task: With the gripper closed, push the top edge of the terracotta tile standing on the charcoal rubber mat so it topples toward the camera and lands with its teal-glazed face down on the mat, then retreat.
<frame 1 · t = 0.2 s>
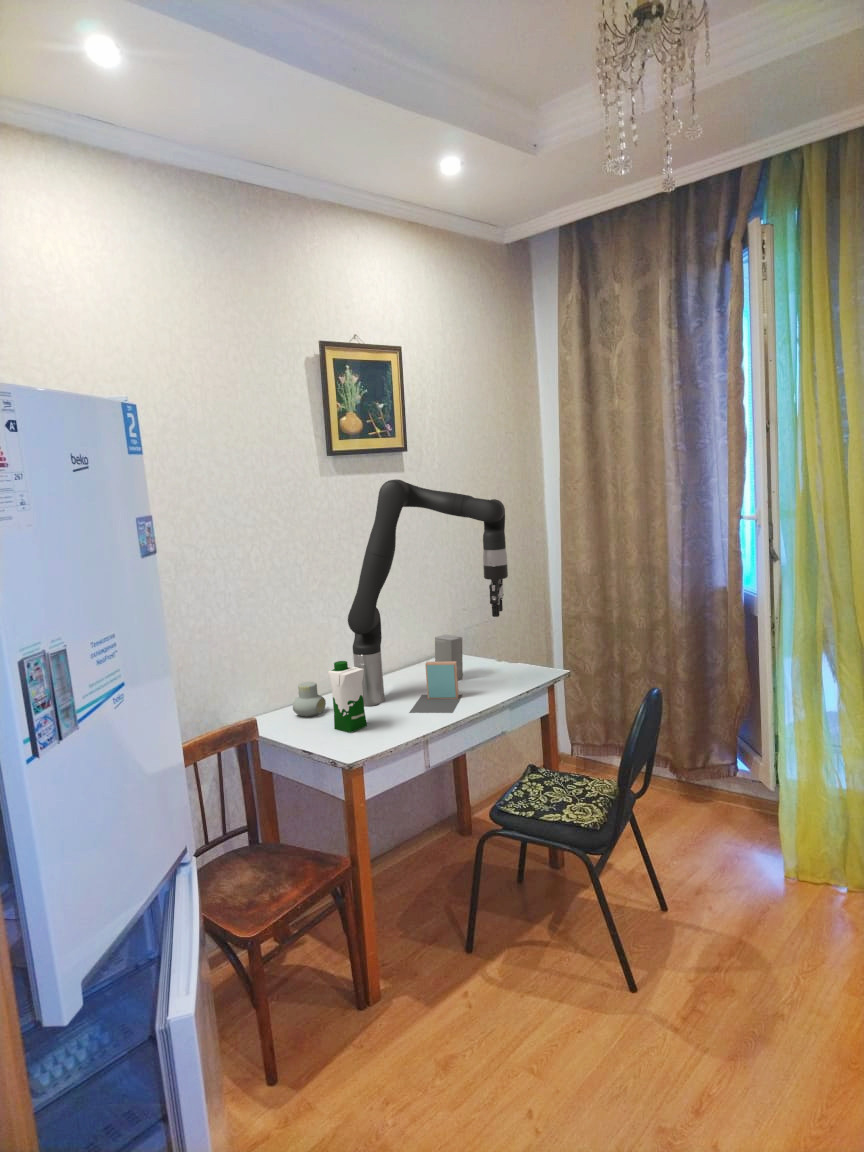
hand: (497, 613, 241), 29 cm above the table, fingers open, 8 cm apart
grey rounded piece: (310, 714, 245), on the table
rubber mat: (436, 704, 246), on the table
glazed tile: (443, 697, 252), resting on rubber mat
skincare box: (450, 679, 275), on the table
milk carton: (350, 728, 229), on the table
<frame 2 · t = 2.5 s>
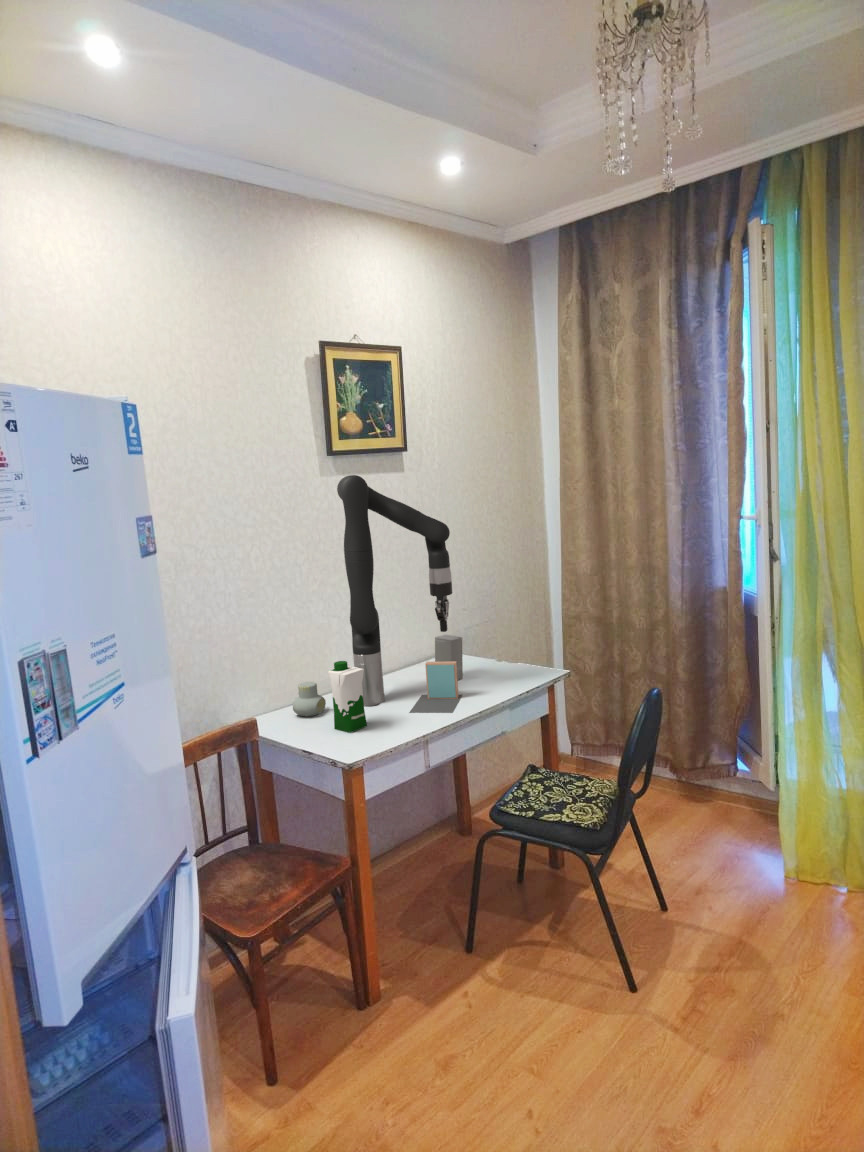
hand: (444, 631, 257), 21 cm above the table, fingers closed
nothing on the table moved.
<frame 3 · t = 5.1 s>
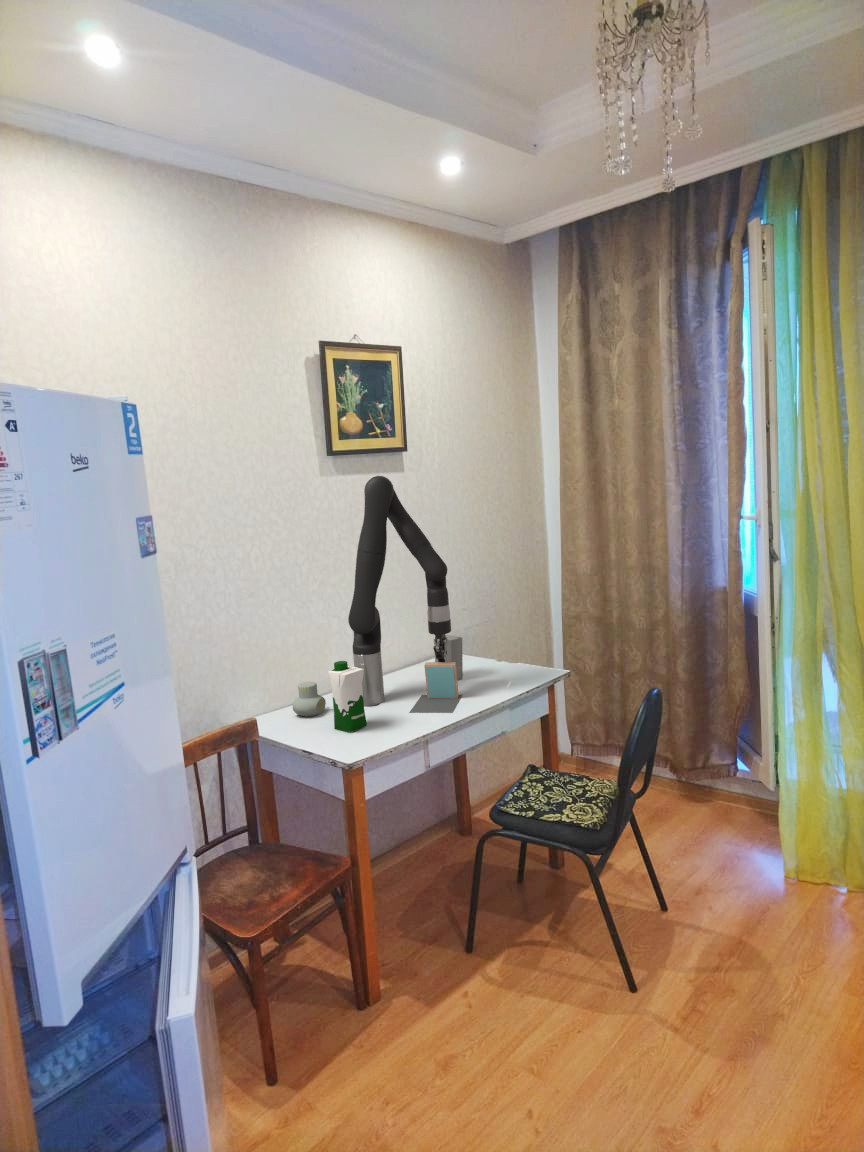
hand: (442, 669, 252), 9 cm above the table, fingers closed
glazed tile: (443, 697, 252), point 1 cm above the table, tilted 8°, touching gripper, rubber mat
everything else where it was.
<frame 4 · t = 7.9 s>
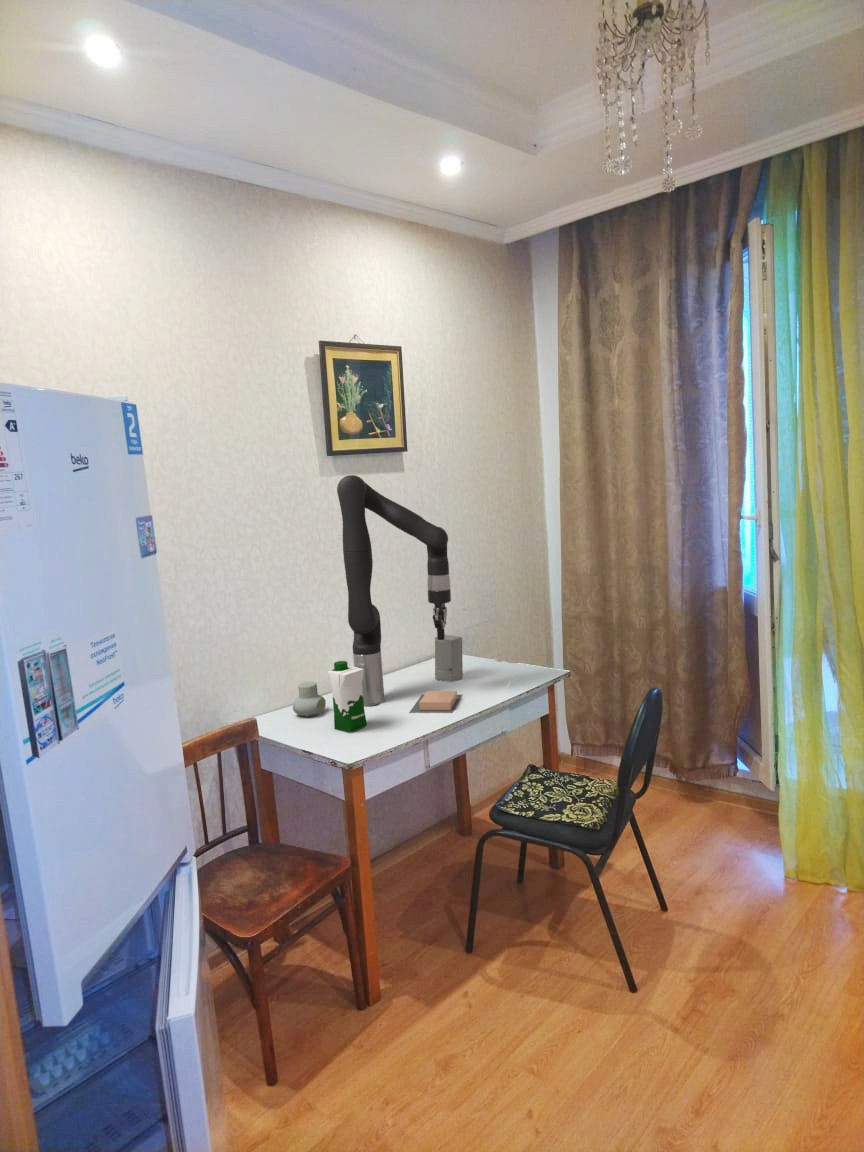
hand: (441, 639, 252), 20 cm above the table, fingers closed
glazed tile: (442, 694, 250), point 2 cm above the table, tilted 90°, touching rubber mat
everything else where it was.
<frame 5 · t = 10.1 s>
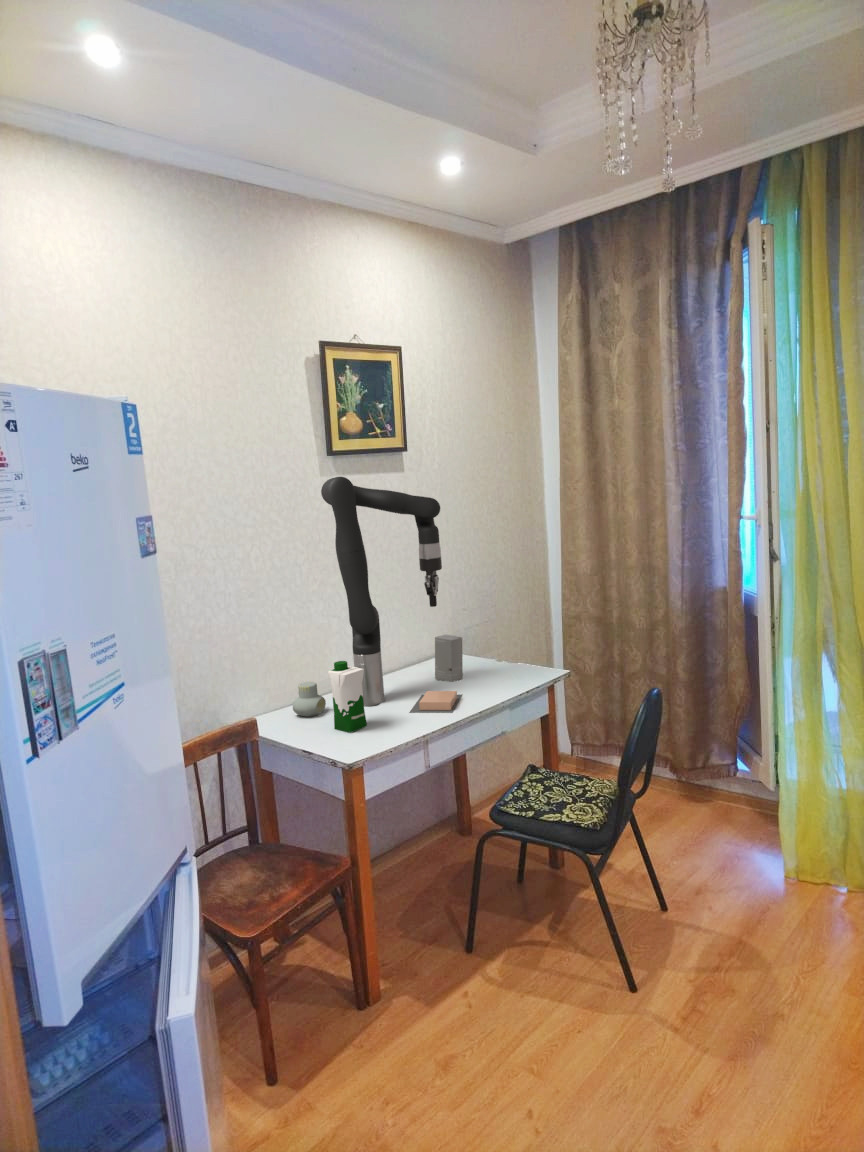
hand: (433, 606, 261), 29 cm above the table, fingers closed
nothing on the table moved.
at the end: glazed tile tilted 90°; glazed tile inside the target area (4.7 cm from its centre), point 1.8 cm above the table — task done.
